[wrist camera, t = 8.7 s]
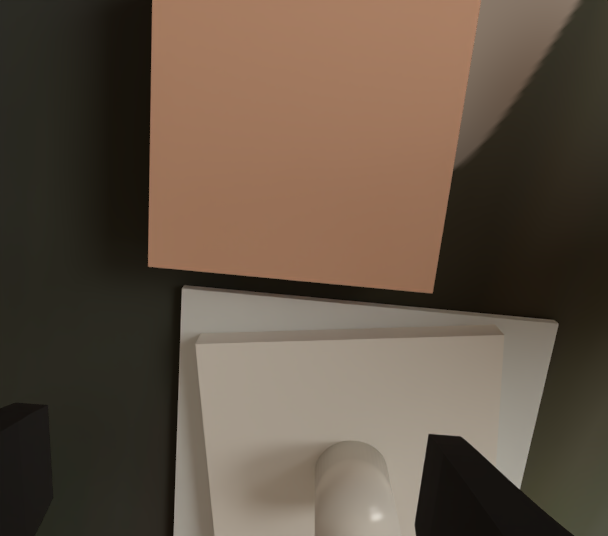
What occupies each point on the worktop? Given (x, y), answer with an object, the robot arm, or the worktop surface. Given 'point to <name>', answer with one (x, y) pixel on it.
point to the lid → (339, 423)
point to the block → (306, 136)
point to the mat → (342, 315)
